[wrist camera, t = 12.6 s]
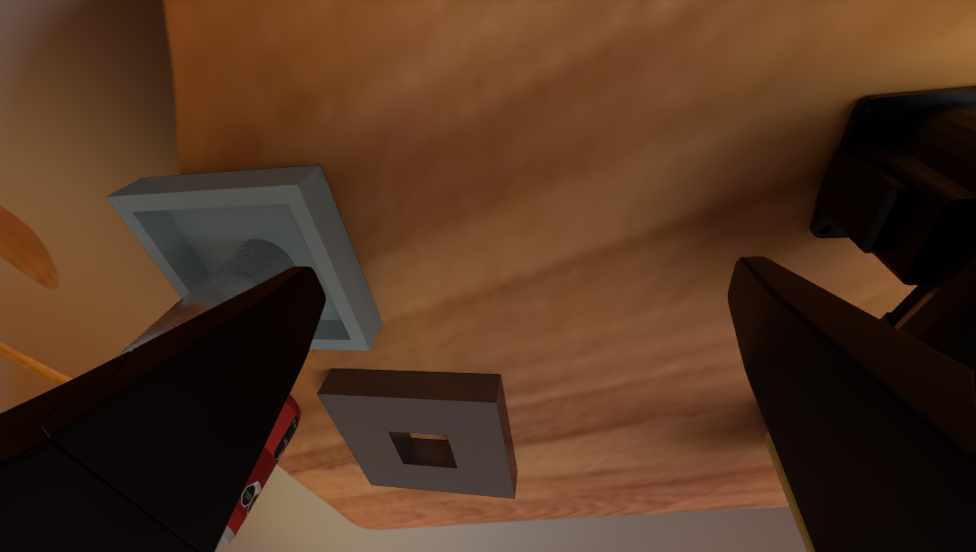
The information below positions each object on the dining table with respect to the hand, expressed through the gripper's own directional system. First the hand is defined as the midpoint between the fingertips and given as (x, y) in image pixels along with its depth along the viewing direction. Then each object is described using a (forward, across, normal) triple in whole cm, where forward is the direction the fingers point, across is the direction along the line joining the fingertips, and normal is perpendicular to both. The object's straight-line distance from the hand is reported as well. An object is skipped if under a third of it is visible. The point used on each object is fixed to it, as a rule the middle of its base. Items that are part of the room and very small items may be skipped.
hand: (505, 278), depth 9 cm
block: (+13, +11, +26) cm, 31 cm away
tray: (+13, +18, +8) cm, 24 cm away
